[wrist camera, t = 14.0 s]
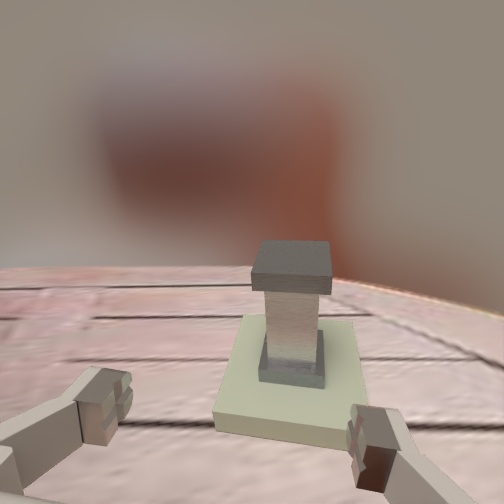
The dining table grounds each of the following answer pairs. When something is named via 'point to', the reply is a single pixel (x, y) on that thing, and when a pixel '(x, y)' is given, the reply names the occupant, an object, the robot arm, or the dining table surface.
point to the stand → (291, 391)
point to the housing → (292, 310)
